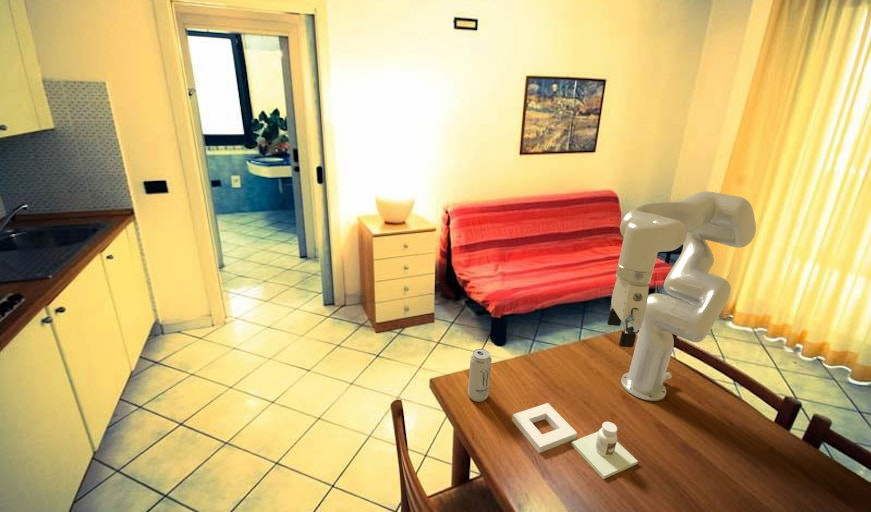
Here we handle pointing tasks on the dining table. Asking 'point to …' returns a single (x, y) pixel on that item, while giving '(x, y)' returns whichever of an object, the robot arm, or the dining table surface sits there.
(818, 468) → the dining table surface
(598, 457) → the pad
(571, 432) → the collar
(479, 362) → the energy drink can
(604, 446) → the pill bottle
